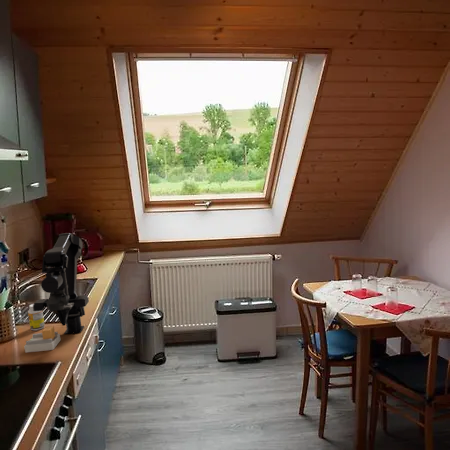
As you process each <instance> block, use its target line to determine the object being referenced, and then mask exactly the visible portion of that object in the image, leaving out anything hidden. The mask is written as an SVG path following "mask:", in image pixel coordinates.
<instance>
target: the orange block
mask: <svg viewBox="0 0 450 450" xmlns="http://www.w3.org/2000/svg"><path fill="white" fill-rule="evenodd" d="M41 330H42V331H41V333H42V335H43V339H52V340H53V338H54V337H55V332H56V331H55V326H54V325H53V326H44V328H42V329H41Z"/></svg>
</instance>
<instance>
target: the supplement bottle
mask: <svg viewBox="0 0 450 450" xmlns="http://www.w3.org/2000/svg"><path fill="white" fill-rule="evenodd" d="M33 304H34V303H32V304H29V307H28V308H29V309H28V311H27V315H28V322H29V329H30V330H31V331H39V330H43V329H44V328H45V327H46V325H45V318H44V313H43V310H42V311H33Z"/></svg>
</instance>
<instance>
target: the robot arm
mask: <svg viewBox="0 0 450 450" xmlns="http://www.w3.org/2000/svg"><path fill="white" fill-rule="evenodd" d="M57 237H58V238H57V240H56V243H54V246H53V247H52V248H50V249H48V250H47V251H46V252H45V253H44V254H43V256H42V267H41V274H45V277H44V278H43V279H42V281H41V284H40V285H41V289H42V291H44V292H45V293H48V294H49V297H48V298H42V299H37V300H36V301H35V302H34V303H32V304H33V311H43V310H44V309H45V308H48V309H47V310H48V311H49V312H51V313H54V314H55V315H56V317H57V318H58V320H59V322H60V324H61V325H62V326H65V328H66V330H65V331H64V335H69V334H70V335H71V334H80V333H82V332H83V329H84V328H85V326H84V325H82V320H81V319H82V318H81V317H83V316H86V313H85V307H86V306H87V305H88V303H90V302H89V297H88V295H87V294H85V295H83V294H82V295H78V294H77V285H78V284H77V279H78V278H77V277H78V276H77V275H78V272H77V271H78V259H79V257H80V256H82V255H81V254H82V250H83V245H84V244H83V240H82V239H81V238H80V237H79V236H76V235H74V234H73V233H70V232H67V233H60V234H58V236H57Z"/></svg>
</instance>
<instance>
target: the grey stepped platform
mask: <svg viewBox="0 0 450 450" xmlns="http://www.w3.org/2000/svg"><path fill="white" fill-rule="evenodd" d="M54 332H55V337H54V338H53V340H52V339H43V335H42V332H39V333H32V336H31V338H30V339H29V340H26V342H25V345H24V352H25V353H35V352H43V351H46V352H47V351H53V350H55V348H56V347H57V345H58V344H59V343H60V342H61V340H62V339H61V333H59V332H58V331H54Z"/></svg>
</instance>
